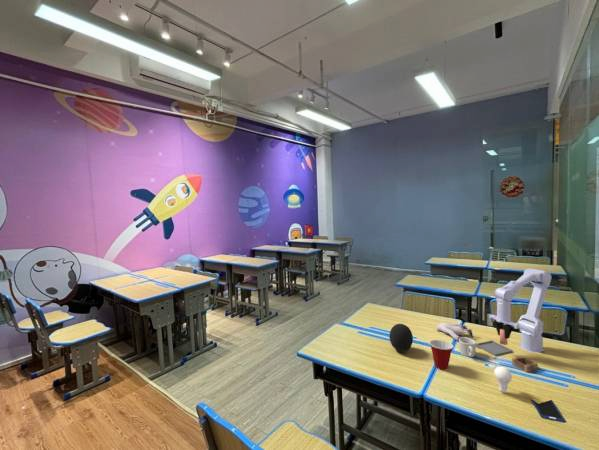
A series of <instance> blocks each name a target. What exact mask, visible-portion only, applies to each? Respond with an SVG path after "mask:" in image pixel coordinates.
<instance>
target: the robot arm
mask: <svg viewBox="0 0 599 450" xmlns="http://www.w3.org/2000/svg"><path fill="white" fill-rule="evenodd" d="M551 281H552V275H551V272H550V271H548V270H542V269H536V268H532V267H528V268H526V269H525V270H524V271H523V274H522V275H521V276H520V277H518V279H517V280H510V281H509V282H508V283H507V284H505V285H504V286H502V287H498V288H496V289H495V290H494V293H493V295H494V297H495V301H496V315H495V314H489V317H488V318H489V319H493V321H492V323H493V325H494V327H495V329H496V333H497V335H498V337H500V328H504V332H505V338H506V339H507V340H508V339H510V338H511V335H512V332H513V330H514V329H516V330H517V329H519V332H520V333H521V334H520V345H517V347H518V348H520V349H522V350H524V351H526V352H527V353H528V352H529V353H530V354H534V353H540V352H544V351H545V349H544V339H543V332H544V322H543V321H542V320H541V319H540V318H539V317H540V314H541V311H542V306H543V303H544V300H545V298H546V297H545V296H546V293H547V289H548V288H549V287H550V285H551ZM528 283H530V284H532V286H533V289H532V292H531V297H530V300H529V303H528V306H527V311H526V313H525V314H522V315H520V318H519V319H518V320H517V322H515V321H513V320H512V319H511V317H512V316H511V312H512V311H511V310H512V309H511V306H512V305H511V303H512V301H513V300H514V298H515V296H516V294H518V293H519V292H520V291H521V290H522V289H523V286H525V285H527V284H528Z"/></svg>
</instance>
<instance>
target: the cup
mask: <svg viewBox="0 0 599 450" xmlns="http://www.w3.org/2000/svg"><path fill="white" fill-rule="evenodd" d="M461 337H462V336H461ZM471 338H472V337H471ZM471 338H470V337H465V336H463V337H462V338H459V342H458V344H459V352H460V354H461V355H462V356H464V357H467V358H472V357H475V356H476V348H477V347H476V344H477V341H476V340H475V339H473V338H472V339H471Z"/></svg>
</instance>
